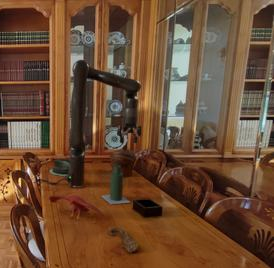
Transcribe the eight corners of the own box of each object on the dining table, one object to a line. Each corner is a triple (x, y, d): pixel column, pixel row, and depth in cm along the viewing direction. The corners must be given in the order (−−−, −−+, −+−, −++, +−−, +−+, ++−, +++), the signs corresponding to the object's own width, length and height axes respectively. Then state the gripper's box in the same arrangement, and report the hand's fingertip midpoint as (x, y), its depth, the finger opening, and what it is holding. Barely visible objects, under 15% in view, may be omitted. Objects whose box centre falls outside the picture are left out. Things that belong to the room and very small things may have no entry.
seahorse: (120, 229, 97) (119, 225, 96) (142, 252, 82) (142, 247, 82) (107, 231, 96) (107, 227, 95) (128, 255, 81) (127, 250, 81)
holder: (144, 217, 106) (144, 208, 106) (132, 208, 115) (133, 199, 114) (161, 215, 108) (162, 206, 107) (148, 207, 117) (149, 198, 116)
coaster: (111, 204, 120) (111, 204, 119) (101, 196, 130) (101, 195, 130) (130, 202, 121) (131, 202, 121) (119, 194, 132) (119, 193, 132)
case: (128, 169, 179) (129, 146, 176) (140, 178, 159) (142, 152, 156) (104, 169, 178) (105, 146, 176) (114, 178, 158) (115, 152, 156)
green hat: (79, 168, 180) (75, 177, 161) (58, 177, 187) (52, 186, 168) (70, 151, 180) (65, 157, 161) (49, 160, 187) (42, 168, 168)
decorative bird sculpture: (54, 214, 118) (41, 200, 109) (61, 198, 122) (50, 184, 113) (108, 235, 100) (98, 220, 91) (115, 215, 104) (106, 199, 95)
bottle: (113, 201, 122) (115, 168, 120) (107, 196, 128) (109, 165, 126) (124, 200, 123) (125, 167, 121) (117, 195, 129) (119, 164, 127)
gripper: (123, 116, 131) (120, 144, 133) (145, 116, 134) (143, 144, 136) (115, 115, 138) (113, 142, 141) (137, 115, 141) (135, 141, 143)
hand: (128, 143), depth 138 cm, fingers open, 8 cm apart
